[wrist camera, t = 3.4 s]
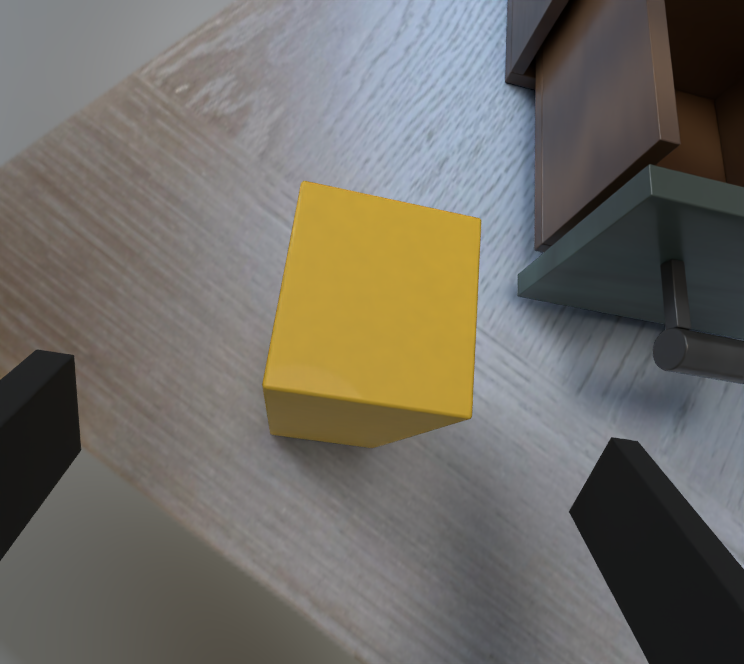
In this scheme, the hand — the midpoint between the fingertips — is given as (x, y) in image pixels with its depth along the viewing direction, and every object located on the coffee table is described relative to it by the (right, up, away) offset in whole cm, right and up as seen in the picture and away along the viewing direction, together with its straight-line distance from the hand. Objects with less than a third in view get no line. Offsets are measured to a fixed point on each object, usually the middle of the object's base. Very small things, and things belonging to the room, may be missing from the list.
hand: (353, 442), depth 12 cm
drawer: (+15, +9, +14) cm, 22 cm away
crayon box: (-1, 0, +9) cm, 9 cm away
